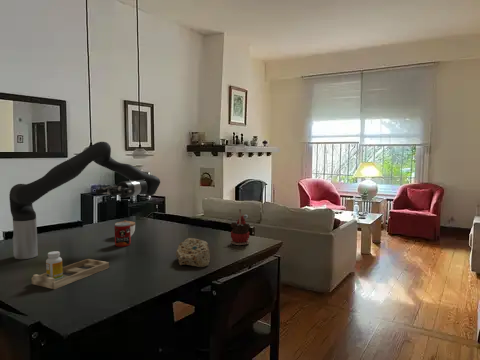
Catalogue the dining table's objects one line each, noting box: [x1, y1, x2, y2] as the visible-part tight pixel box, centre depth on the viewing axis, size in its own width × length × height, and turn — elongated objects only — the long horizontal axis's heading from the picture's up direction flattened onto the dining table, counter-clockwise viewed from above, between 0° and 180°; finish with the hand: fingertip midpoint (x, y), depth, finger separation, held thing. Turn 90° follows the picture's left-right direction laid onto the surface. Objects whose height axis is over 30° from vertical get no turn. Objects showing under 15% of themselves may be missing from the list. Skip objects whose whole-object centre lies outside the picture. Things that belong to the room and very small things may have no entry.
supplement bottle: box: [45, 250, 63, 280], centre depth 140 cm, size 5×5×10 cm
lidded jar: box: [114, 219, 136, 237], centre depth 210 cm, size 11×11×9 cm
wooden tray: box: [31, 258, 110, 290], centre depth 147 cm, size 12×26×4 cm, turn 155°
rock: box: [175, 237, 211, 268], centre depth 167 cm, size 21×14×10 cm
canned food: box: [114, 221, 132, 248], centre depth 193 cm, size 8×8×11 cm
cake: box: [230, 208, 251, 246], centre depth 195 cm, size 11×9×18 cm
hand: (103, 192), depth 166 cm, fingers open, 8 cm apart
